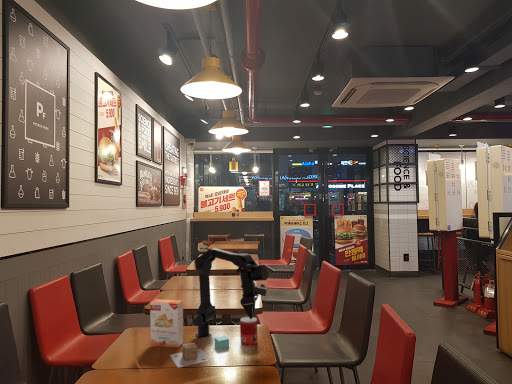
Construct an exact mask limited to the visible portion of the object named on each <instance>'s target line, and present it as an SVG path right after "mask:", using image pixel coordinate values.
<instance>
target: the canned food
mask: <svg viewBox="0 0 512 384" xmlns="http://www.w3.org/2000/svg"><path fill="white" fill-rule="evenodd" d="M239 322H240V323H239V327H240V328H239V329H240V331H239V332H240V333H239V334H240V336H239V337H240V344H241V345H243V346H254V345H256V344H257V343H258V319H257V317H254V316H253V318H252V319H250V318H249V316H244V317H243V316H242V317H241V318H240V320H239Z"/></svg>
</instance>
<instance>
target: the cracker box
mask: <svg viewBox="0 0 512 384" xmlns="http://www.w3.org/2000/svg"><path fill="white" fill-rule="evenodd" d="M183 304H184V301H183V300H182V299H181V300H179V299H177V300H176V299H161V298H160V299H158V298H156V299H154V300H152V301H150V304H149V305H150V311H149V313H150V314H149V315H150V348H154V347H166V348H167V347H168V348H169V347H170V348H179V347H180V346H182V345H183V344H184V305H183Z"/></svg>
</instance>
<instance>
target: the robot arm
mask: <svg viewBox="0 0 512 384" xmlns="http://www.w3.org/2000/svg"><path fill="white" fill-rule="evenodd" d="M216 259H220V260H223V261H227V262H230V263H231V264H233V265H234V266H236V267H238V268H237V269H236V270H235V273H236V274H239V276H240V284H241V285H240V288H241V289H242V290H241V291H242V296H241V298H240V300H239V302H240V305H241V307H242V308H243V309H244V311H245V313H246V315H247V317H249V318H250V319H252V318H253V317H254V315H255V314H256V302H257V300H258V299H259V295H260V296H262V297H267V292H268V287H266V285H265V284H263V283H262V284H260V285H256V283H255V282H259V281H261V282H262V281H267V280H268V279H269V271H268V269H267V268H266V266H265V264H260V265H258V264H257V262H256V261H255V260H254V259H253V257H252V255H251V254H250V253H243V252H242V253H235V252H232V251H228V250H224V249H221V248H218V247H211V248H209V249H208V250H207V251H205V252H204V253H202V254H201V255H200V256H197V257H196V258H195V259H194V266H195V271H196V272H197V274H198V278H199V279H198V281H199V301H200V303H199V306H198V309H197V315H196V317H195V318H194V319H193V320H192V322H193V325H194V326H196V327H197V333H195V336H196V337H197V339H202V338H207V337H211V336H213V335H212V334H211V333H210V323H212V322H213V320H214V319H215V316H216V306H215V305H214V304H212V302H211V289H210V288H211V287H210V285H211V283H210V272H211V270H212V267H213V266H212V265H213V262H214V261H215V260H216Z"/></svg>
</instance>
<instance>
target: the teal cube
mask: <svg viewBox="0 0 512 384" xmlns="http://www.w3.org/2000/svg"><path fill="white" fill-rule="evenodd" d="M214 347H215V348H216V349H217V350H218V351H221V350H225V349H230V338H228V337H227V336H226V335H219V336H216V337H214Z"/></svg>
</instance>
